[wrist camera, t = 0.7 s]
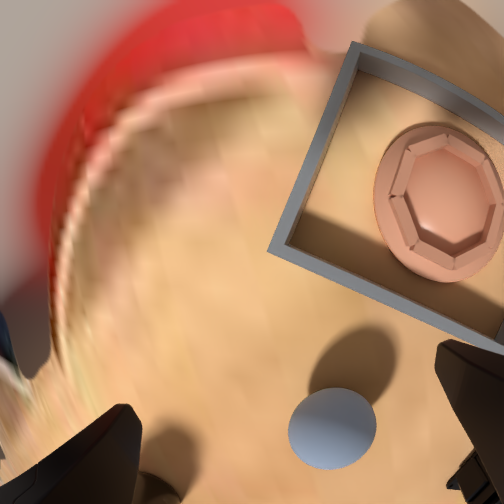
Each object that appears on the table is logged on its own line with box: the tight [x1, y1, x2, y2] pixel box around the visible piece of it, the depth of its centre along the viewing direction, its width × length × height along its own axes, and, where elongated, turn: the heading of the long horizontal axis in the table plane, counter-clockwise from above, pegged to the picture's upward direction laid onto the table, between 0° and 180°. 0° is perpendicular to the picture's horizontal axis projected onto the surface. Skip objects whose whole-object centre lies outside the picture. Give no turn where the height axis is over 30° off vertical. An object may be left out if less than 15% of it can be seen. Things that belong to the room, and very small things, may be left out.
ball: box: [288, 388, 376, 470], centre depth 17 cm, size 6×6×6 cm
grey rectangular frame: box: [267, 41, 504, 355], centre depth 16 cm, size 20×16×2 cm
